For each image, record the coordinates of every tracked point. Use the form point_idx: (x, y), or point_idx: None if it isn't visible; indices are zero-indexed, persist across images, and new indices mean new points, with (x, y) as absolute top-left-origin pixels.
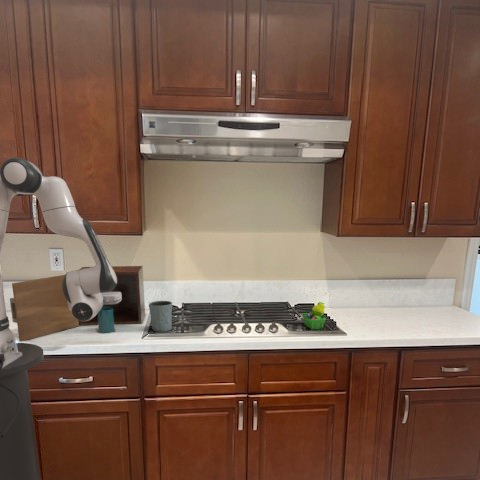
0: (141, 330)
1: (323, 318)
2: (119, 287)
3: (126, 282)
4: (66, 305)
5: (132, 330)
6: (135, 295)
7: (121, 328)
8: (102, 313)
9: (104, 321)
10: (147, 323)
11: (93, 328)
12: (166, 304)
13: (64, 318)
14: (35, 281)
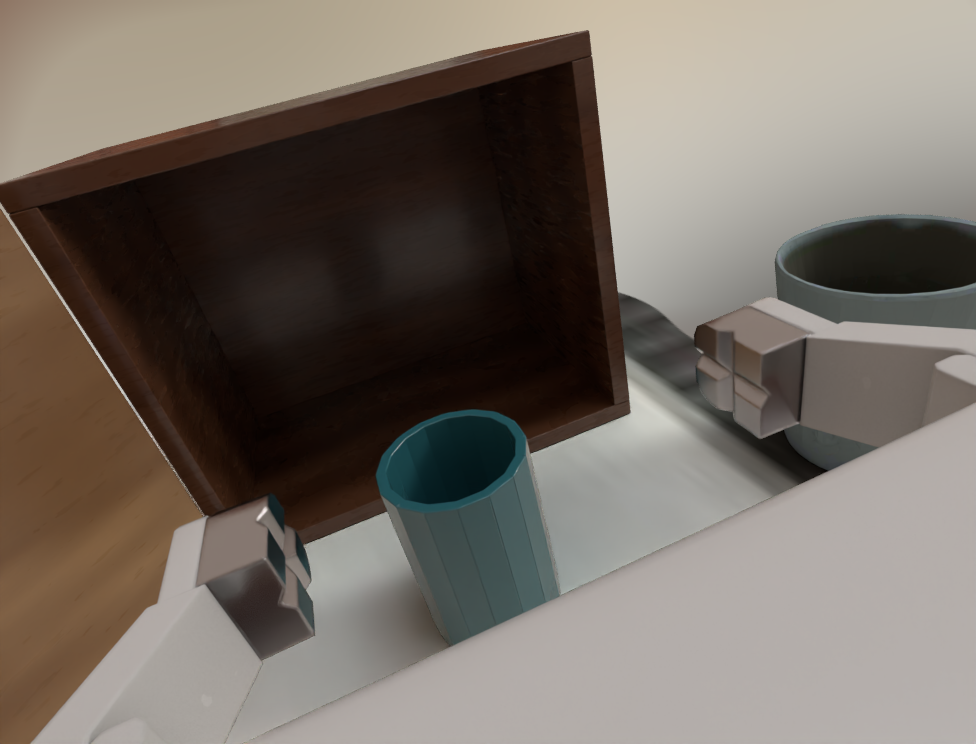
0: (748, 499)
1: None
2: (382, 224)
3: (415, 182)
4: (61, 524)
5: (684, 522)
6: (478, 245)
7: (569, 515)
8: (468, 529)
9: (499, 581)
10: (658, 396)
11: (366, 584)
12: (860, 246)
13: (98, 631)
14: None
